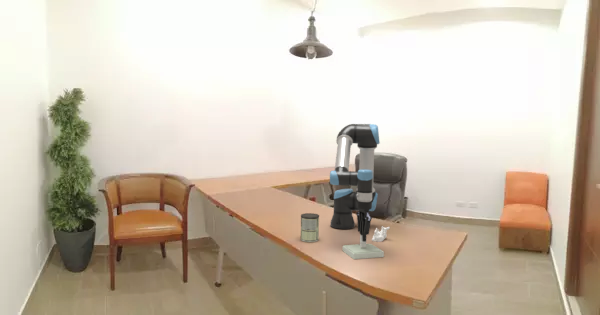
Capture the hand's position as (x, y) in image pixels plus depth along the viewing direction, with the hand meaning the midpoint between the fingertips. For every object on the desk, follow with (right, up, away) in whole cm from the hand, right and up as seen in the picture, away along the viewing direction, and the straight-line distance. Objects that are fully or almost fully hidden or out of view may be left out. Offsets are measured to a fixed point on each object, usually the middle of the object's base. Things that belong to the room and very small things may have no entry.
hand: (362, 247), depth 201 cm
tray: (0, -3, 0) cm, 3 cm away
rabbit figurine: (+14, -3, +23) cm, 27 cm away
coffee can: (-26, -2, +25) cm, 36 cm away
